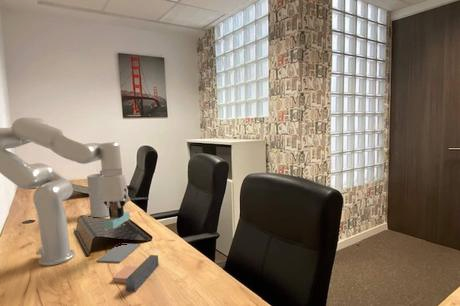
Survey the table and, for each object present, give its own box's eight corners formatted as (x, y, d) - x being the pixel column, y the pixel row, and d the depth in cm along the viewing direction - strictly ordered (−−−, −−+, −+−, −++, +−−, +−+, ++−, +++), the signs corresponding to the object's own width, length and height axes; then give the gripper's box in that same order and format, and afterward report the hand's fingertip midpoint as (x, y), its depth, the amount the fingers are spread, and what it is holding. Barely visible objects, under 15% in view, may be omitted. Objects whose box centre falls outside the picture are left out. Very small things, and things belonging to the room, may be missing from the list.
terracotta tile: (113, 283, 97) (112, 277, 97) (126, 271, 105) (125, 265, 105) (134, 284, 95) (133, 279, 95) (146, 272, 103) (145, 267, 103)
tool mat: (96, 261, 112) (96, 260, 112) (119, 244, 128) (119, 243, 128) (119, 262, 110) (119, 261, 110) (140, 245, 126) (140, 244, 126)
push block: (104, 228, 112) (102, 206, 112) (121, 218, 124) (119, 198, 123) (113, 228, 112) (111, 206, 111) (129, 218, 123) (127, 198, 122)
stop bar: (126, 291, 91) (125, 279, 90) (151, 265, 107) (150, 255, 107) (135, 292, 90) (134, 280, 90) (158, 265, 107) (157, 255, 106)
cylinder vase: (86, 218, 170) (82, 177, 167) (100, 211, 182) (96, 173, 179) (104, 218, 167) (100, 176, 164) (117, 212, 179) (114, 173, 176)
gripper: (88, 175, 114) (93, 219, 115) (125, 174, 110) (129, 219, 112) (100, 171, 121) (104, 213, 123) (135, 170, 118) (139, 213, 120)
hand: (116, 216), depth 118 cm, fingers closed on push block, 3 cm apart
